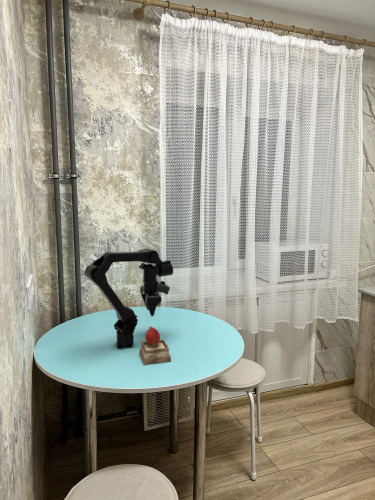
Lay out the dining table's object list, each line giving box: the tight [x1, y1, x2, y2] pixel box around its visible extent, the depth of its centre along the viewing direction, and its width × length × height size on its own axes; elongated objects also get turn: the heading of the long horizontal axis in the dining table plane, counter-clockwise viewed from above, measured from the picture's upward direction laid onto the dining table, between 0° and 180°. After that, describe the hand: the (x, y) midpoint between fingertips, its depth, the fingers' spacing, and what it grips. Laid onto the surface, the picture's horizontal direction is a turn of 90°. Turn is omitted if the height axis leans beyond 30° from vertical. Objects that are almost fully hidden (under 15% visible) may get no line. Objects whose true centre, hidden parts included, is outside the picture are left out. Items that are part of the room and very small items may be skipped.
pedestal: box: [138, 338, 172, 366], centre depth 146 cm, size 10×10×5 cm
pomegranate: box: [144, 325, 161, 346], centre depth 148 cm, size 6×6×8 cm
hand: (150, 312), depth 164 cm, fingers open, 9 cm apart
